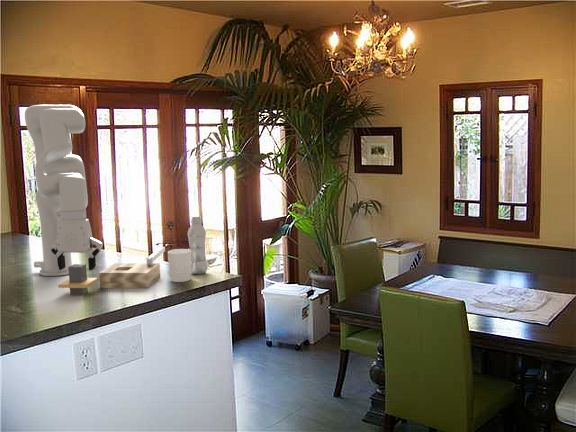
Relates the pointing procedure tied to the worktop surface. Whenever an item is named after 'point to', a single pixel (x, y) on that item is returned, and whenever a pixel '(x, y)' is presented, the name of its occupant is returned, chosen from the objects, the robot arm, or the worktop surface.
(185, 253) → the white cup
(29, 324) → the worktop surface
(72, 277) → the plug
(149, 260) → the silver rod
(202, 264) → the plastic bottle
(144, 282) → the socket block
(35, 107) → the robot arm
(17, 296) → the worktop surface
